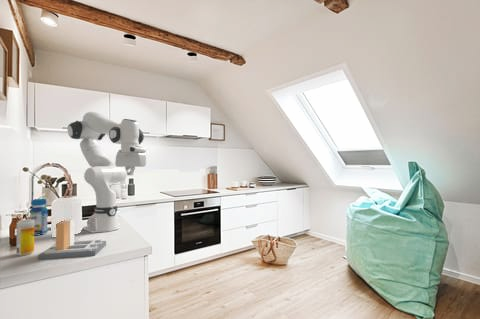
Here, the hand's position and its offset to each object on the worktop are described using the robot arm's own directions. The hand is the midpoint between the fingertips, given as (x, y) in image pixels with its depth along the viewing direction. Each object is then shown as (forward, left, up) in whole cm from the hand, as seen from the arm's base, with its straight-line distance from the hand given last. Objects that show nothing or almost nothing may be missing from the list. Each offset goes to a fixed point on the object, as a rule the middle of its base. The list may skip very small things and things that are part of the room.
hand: (130, 175), depth 135 cm
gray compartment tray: (-7, -24, -34) cm, 42 cm away
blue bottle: (-57, -17, -34) cm, 69 cm away
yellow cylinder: (-24, -36, -34) cm, 55 cm away
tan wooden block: (-8, -29, -32) cm, 44 cm away
